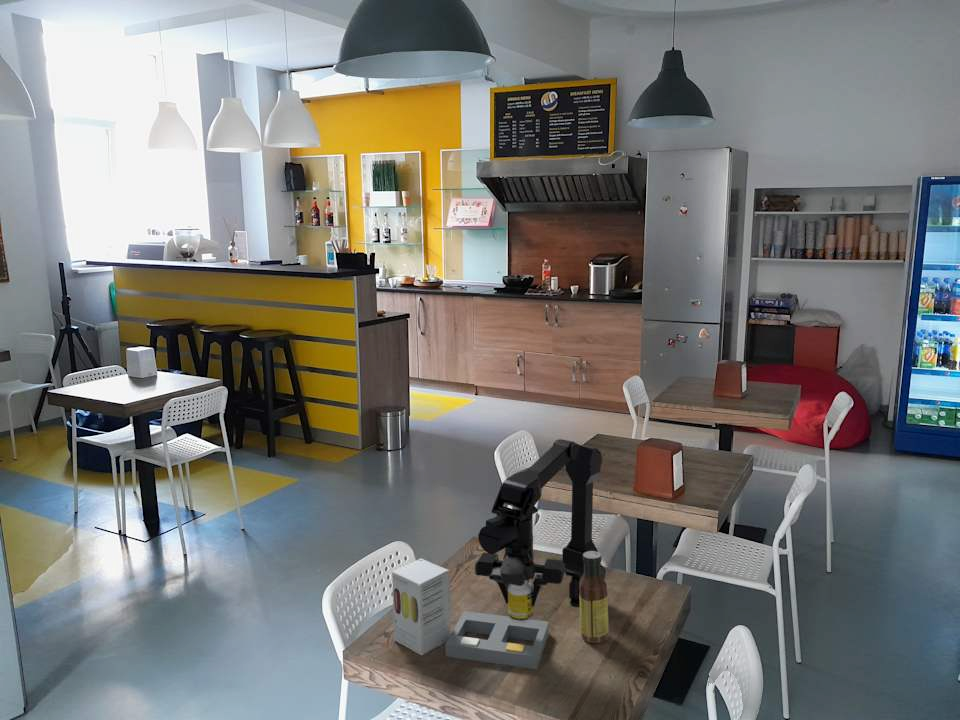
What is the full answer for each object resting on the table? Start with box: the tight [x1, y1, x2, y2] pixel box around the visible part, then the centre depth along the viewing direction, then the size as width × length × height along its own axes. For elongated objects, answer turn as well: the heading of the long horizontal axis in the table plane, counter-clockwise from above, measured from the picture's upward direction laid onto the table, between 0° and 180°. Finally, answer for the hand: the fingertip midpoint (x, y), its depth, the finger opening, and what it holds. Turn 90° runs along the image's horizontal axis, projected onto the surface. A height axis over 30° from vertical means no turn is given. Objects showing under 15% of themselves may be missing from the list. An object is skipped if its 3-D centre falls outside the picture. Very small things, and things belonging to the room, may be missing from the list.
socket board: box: [444, 610, 550, 670], centre depth 162 cm, size 20×14×3 cm
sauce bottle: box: [579, 551, 610, 644], centre depth 163 cm, size 6×6×20 cm
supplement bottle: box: [507, 579, 534, 623], centre depth 159 cm, size 5×5×10 cm
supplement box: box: [391, 557, 452, 656], centre depth 163 cm, size 10×9×17 cm
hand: (520, 604), depth 159 cm, fingers closed on supplement bottle, 5 cm apart
